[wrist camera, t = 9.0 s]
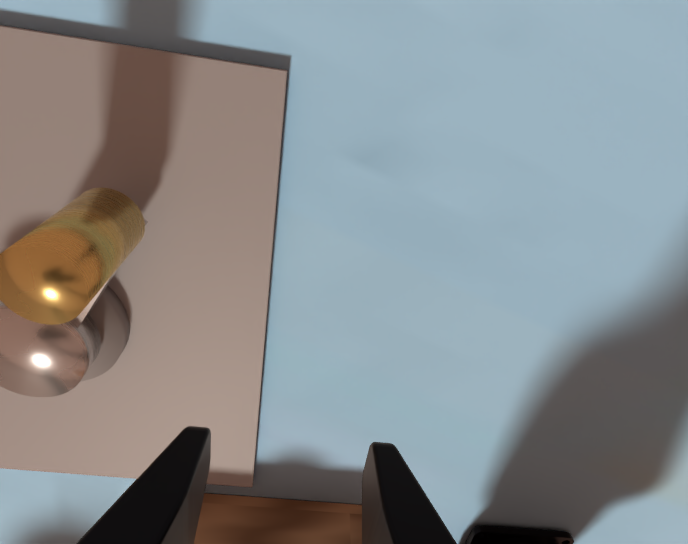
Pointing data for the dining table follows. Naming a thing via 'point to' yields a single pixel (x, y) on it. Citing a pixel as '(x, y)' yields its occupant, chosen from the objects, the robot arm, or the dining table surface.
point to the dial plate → (148, 244)
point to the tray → (276, 521)
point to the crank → (61, 291)
